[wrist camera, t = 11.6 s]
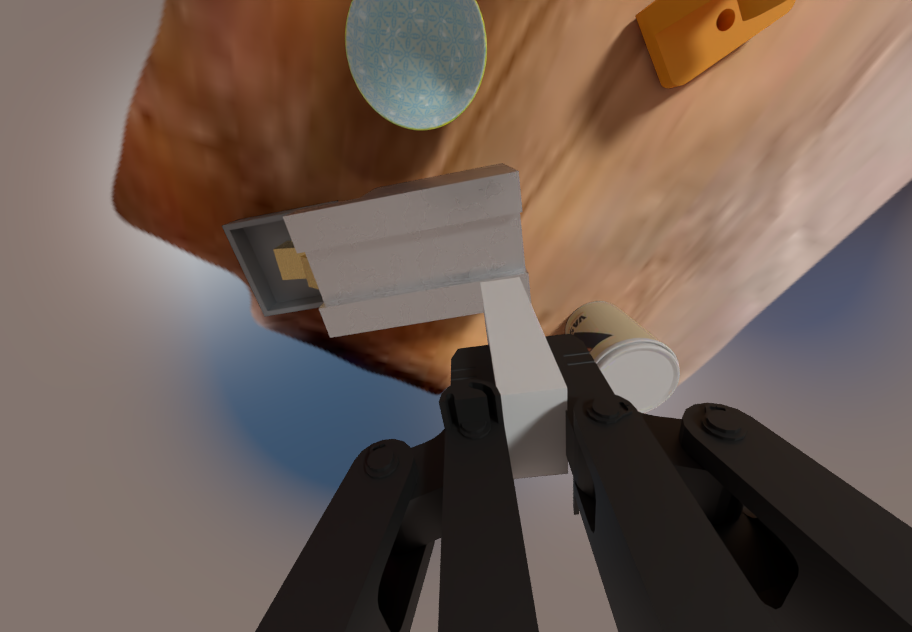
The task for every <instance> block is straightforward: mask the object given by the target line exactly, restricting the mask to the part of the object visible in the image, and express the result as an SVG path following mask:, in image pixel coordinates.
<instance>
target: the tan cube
mask: <svg viewBox="0 0 912 632" xmlns="http://www.w3.org/2000/svg"><path fill="white" fill-rule="evenodd" d="M300 259H301V262H302V265H303V269H304V272H305V275H306V279H307V282H308V286H309V287H312V288H316V289H319V288H318V285H317V283H316V280H315V278H314V275H313V272H312V270H311V267H310V264H309V262H308V259H307V257H306V254H305V255H303V256H300Z"/></svg>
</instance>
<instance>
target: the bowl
mask: <svg viewBox="0 0 912 632" xmlns="http://www.w3.org/2000/svg"><path fill="white" fill-rule="evenodd" d="M345 48H346V56H347V60H348V64H349V68H350V72H351V74H352V77H353V79H354V81H355V83H356V86H357V87H358V89H359V91H360V93H361V94H362V96H363V97H364V99H365V100H366V101H367V102H368V104H369V105H370V106H371V107H372V108H373V109H374V110H375V111H376V112H377V113H378V114H379V115H381V116H382V117H383V118H385V119H386V120H388V121H389V122H391V123H393V124H395V125H398V126H400V127H403V128H407V129H411V130H431V129H436V128H440V127H442V126H445V125H447V124H449V123H450V122H452V121H453V120H455V119H456V118H457V117H459V116H460V115H461V114H462V113H463V112H464V111H465V110H466V109H467V107H468V106H469V105H470V103H471V102H472V100H473V99H474V97H475V95H476V93H477V92H478V89H479V87H480V85H481V82H482V78H483V75H484V71H485V66H486V59H487V39H486V31H485V25H484V21H483V17H482V14H481V11H480V8H479V6H478V4H477V1H476V0H352V2H351V5H350V8H349V11H348V15H347V21H346V28H345Z"/></svg>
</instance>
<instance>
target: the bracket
mask: <svg viewBox="0 0 912 632" xmlns="http://www.w3.org/2000/svg"><path fill="white" fill-rule="evenodd" d="M794 3H795V0H655V1H654V2H652V3H651V4H650V5H648V6H647V7H646V8H645V9H643V10H642V11H641V12H639V13H638V14H637V15H636V19H637V22H638V24H639V27H640V30H641V32H642V35H643V38H644V40H645V43H646V46H647V48H648V51H649V54H650V56H651V59H652V62H653V64H654V67H655V70H656V72H657V75H658V78H659V80H660V83H661V85H662V86H663V87H664V88H673V87H677V86H681V85H684V84H686V83H687V82H689V81H690V80H692V79H693V78H694V77H696V76H697V75H699V74H700V73H702V72H703V71H704V70H706V69H707V68H709V67H710V66H712V65H713V64H715V63H716V62H717V61H719V60H720V59H722V58H723V57H725V56H726V55H727V54H729V53H730V52H732V51H733V50H735V49H736V48H738V47H739V46H740V45H742V44H743V43H745V42H746V41H748V40H749V39H750V38H752V37H753V36H755V35H756V34H758V33H759V32H760V31H762V30H763V29H765V28H766V27H768V26H769V25H771V24H772V23H773V22H775V21H776V20H778V19H779V18H781V17H782V16H783V15H785V14H786V13H788V12H789V11H790V10H791V8H792V7H793V5H794Z"/></svg>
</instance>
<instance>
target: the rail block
mask: <svg viewBox="0 0 912 632" xmlns="http://www.w3.org/2000/svg"><path fill="white" fill-rule="evenodd" d="M520 212H522V202H521V192H520V181H519V171H517V170H515V169H513V168H511V167H509V166H507V165H505V164H503V163H501V164H496V165H491V166H486V167H481V168H476V169H470V170H465V171H460V172H455V173H450V174H445V175H440V176H435V177H430V178H424V179H419V180H414V181H409V182H404V183H399V184H394V185H389V186H384V187H378V188H375V189H373V190H372V191H370V192H369V193H367V194H365V195H364V196H362V197H360V198H358V199H352V200H347V201H342V202H337V203H332V204H327V205H321V206H316V207H311V208H306V209H301V210H296V211H294V212H292V213H290V214H287V215H285V216H283V219H284V222H285V224H286V227H287V229H288V232H289V234H290V237H291V239H292V242H293V244H294V247H295V250H296V252H297V253H302V252H305V254H306V257H307V259H308V262H309V264H310V267H311V270H312V272H313V275H314V278H315V280H316V283H317V285H318V288H319V291H320V293H321V296H322V299H323V301H324V303H323V304H322V305H321V306H320V308H319V311H320V313H321V316H322V318H323V321H324V323H325V326H326V328H327V331H328V334H329V336H330V338H332V337H338V336H344V335H350V334H356V333H362V332H368V331H374V330H380V329H387V328H393V327H399V326H405V325H411V324H417V323H423V322H429V321H435V320H441V319H448V318H454V317H460V316H466V315H472V314H478V313H484V309H483V301H482V293H481V285H480V282H488V281H495V280H502V279H509V278H516V277H520V280H521V282H522V284H523V287H524V289H525V291H526V294H527V296H528V298H529V301H530V303H531V297H530V286H529V276H528V272H527V270H526V268H525V260H524V249H523V239H522V229H521V219H520Z"/></svg>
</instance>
